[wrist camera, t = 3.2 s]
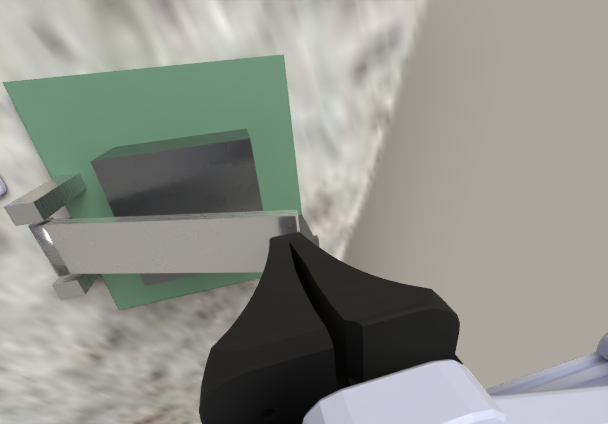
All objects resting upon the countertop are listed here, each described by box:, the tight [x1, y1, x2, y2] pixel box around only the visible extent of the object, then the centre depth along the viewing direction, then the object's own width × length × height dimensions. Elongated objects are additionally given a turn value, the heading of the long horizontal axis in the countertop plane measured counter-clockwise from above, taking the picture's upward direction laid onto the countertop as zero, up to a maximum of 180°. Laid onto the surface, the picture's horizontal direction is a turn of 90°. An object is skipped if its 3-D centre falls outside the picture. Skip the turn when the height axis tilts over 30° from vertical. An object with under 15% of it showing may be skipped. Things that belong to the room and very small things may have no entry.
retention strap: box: [29, 210, 300, 276], centre depth 14 cm, size 14×3×1 cm, turn 96°
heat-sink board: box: [3, 55, 319, 310], centre depth 18 cm, size 15×16×6 cm
